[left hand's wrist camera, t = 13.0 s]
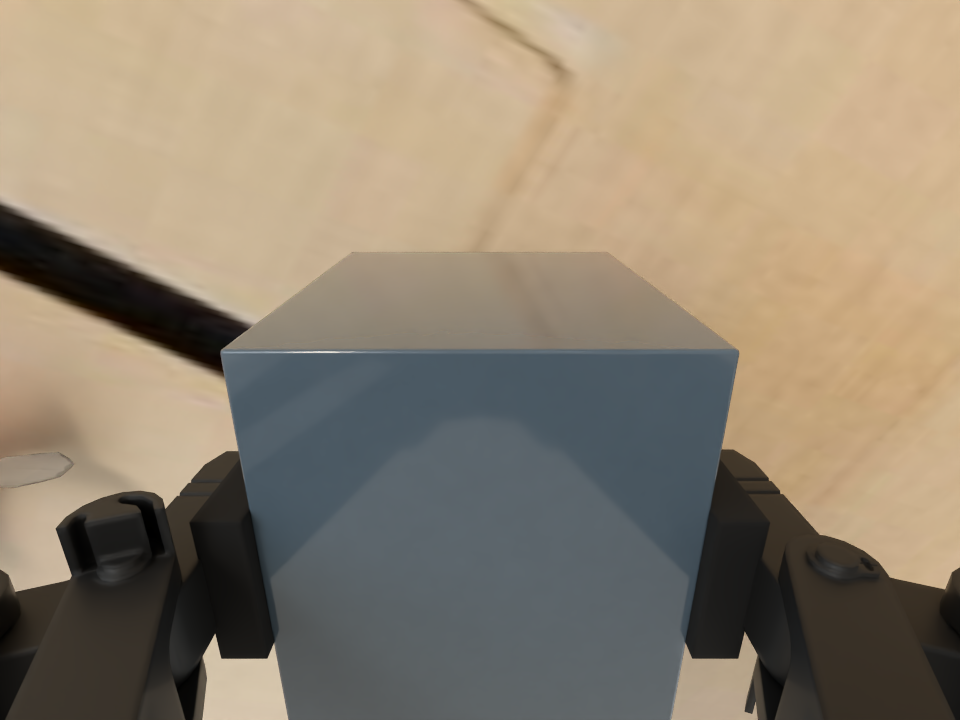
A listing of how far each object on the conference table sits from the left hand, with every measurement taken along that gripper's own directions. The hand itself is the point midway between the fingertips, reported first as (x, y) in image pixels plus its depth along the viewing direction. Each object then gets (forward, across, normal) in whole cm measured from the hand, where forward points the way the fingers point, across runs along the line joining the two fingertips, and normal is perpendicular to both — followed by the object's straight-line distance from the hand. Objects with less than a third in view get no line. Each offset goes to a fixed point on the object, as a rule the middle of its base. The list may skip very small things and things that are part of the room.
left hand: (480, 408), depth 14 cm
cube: (+2, 0, 0) cm, 2 cm away
